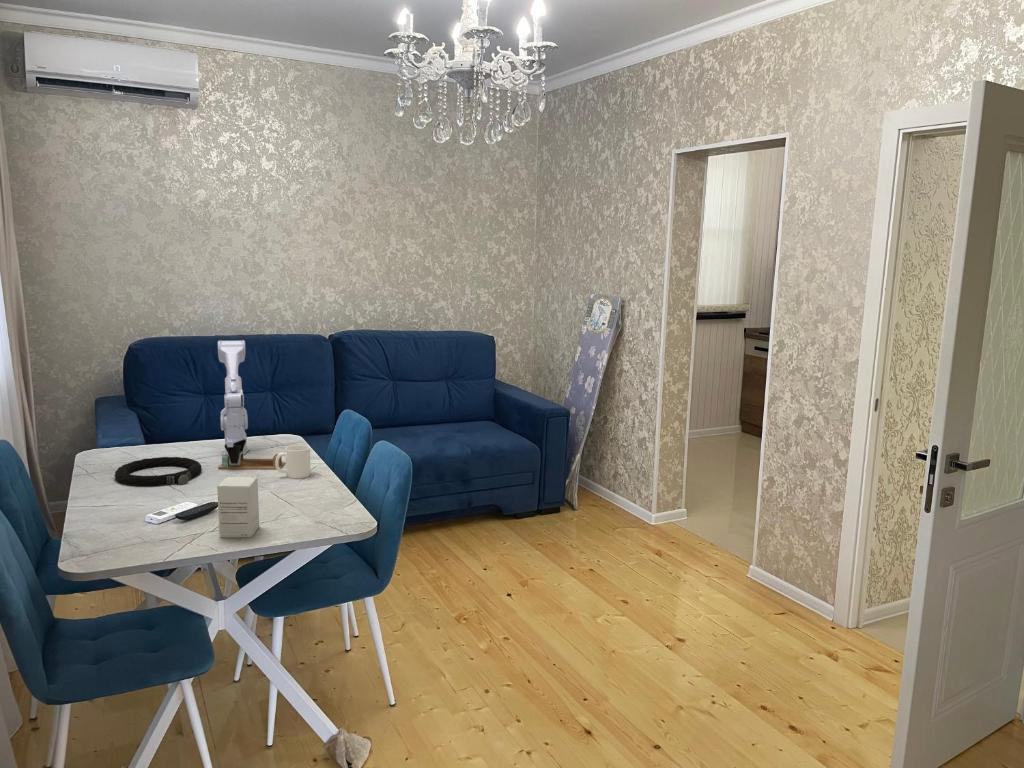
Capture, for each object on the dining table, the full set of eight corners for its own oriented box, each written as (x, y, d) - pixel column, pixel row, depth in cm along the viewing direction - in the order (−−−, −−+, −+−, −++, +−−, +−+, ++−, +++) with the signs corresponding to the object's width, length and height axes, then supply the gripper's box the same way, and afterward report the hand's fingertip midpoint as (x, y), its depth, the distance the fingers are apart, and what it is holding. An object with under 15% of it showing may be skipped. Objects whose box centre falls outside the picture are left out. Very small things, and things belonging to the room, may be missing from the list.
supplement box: (228, 526, 216) (226, 476, 213) (260, 526, 216) (258, 476, 214) (218, 538, 207) (216, 485, 204) (251, 538, 207) (249, 486, 205)
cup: (313, 477, 264) (312, 449, 263) (278, 481, 258) (277, 452, 257) (306, 471, 271) (306, 443, 270) (272, 475, 265) (272, 447, 264)
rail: (224, 463, 278) (224, 452, 277) (285, 463, 280) (285, 452, 279) (218, 469, 270) (217, 458, 270) (280, 469, 272) (280, 458, 271)
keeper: (232, 462, 277) (232, 450, 276) (243, 462, 277) (243, 450, 276) (229, 465, 272) (228, 453, 271) (240, 465, 273) (240, 453, 272)
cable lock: (175, 451, 280) (221, 466, 262) (176, 461, 281) (221, 477, 263) (98, 466, 258) (142, 483, 241) (99, 476, 259) (143, 495, 241)
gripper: (240, 429, 265) (242, 467, 268) (251, 420, 280) (252, 456, 282) (220, 429, 265) (221, 466, 267) (232, 420, 279) (233, 456, 281)
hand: (236, 461), depth 274 cm, fingers closed on keeper, 4 cm apart
